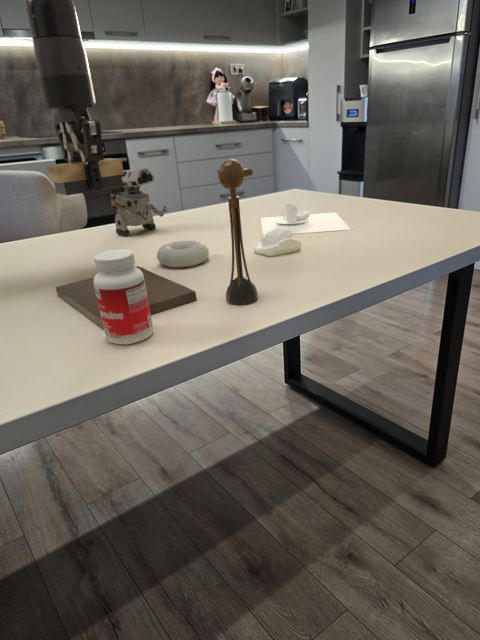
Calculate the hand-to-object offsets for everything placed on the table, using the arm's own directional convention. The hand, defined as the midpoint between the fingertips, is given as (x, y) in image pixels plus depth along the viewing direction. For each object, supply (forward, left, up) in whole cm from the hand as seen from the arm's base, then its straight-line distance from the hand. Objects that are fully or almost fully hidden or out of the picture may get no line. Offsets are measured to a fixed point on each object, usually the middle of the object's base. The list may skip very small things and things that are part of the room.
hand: (89, 187), depth 82 cm
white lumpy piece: (+31, -12, -16) cm, 37 cm away
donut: (+14, -4, -16) cm, 21 cm away
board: (-3, -14, -15) cm, 21 cm away
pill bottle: (-9, -29, -16) cm, 34 cm away
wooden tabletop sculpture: (+10, -29, -16) cm, 35 cm away
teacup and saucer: (+51, +2, -16) cm, 53 cm away
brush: (0, 0, 0) cm, 0 cm away
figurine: (+20, +27, -16) cm, 37 cm away
